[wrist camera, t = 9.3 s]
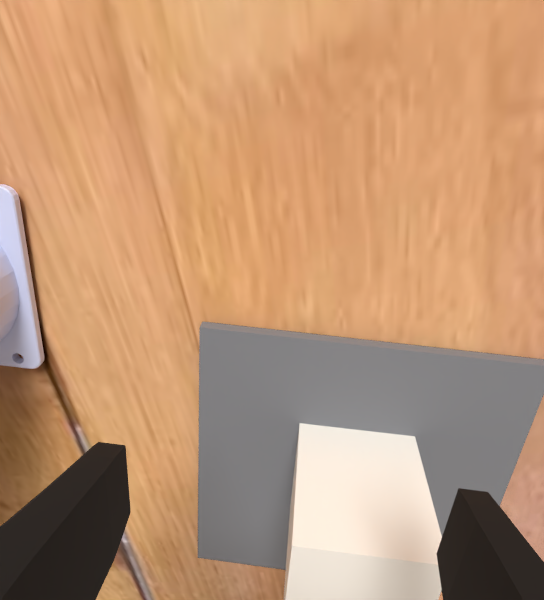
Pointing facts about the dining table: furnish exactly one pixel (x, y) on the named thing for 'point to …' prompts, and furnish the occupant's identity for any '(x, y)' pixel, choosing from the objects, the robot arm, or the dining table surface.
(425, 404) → the charcoal mat
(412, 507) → the cream block
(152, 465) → the dining table surface
